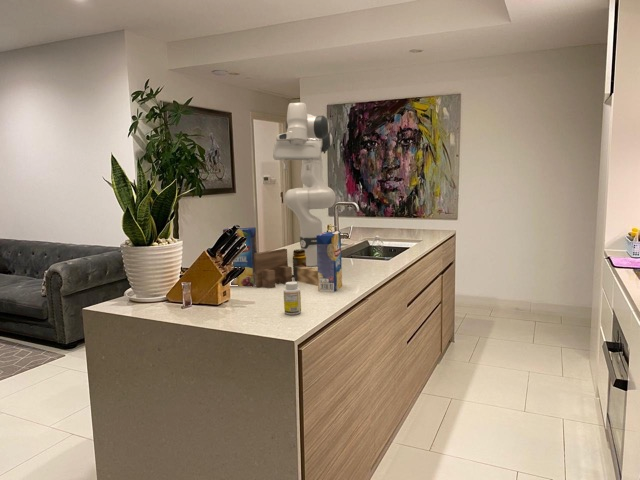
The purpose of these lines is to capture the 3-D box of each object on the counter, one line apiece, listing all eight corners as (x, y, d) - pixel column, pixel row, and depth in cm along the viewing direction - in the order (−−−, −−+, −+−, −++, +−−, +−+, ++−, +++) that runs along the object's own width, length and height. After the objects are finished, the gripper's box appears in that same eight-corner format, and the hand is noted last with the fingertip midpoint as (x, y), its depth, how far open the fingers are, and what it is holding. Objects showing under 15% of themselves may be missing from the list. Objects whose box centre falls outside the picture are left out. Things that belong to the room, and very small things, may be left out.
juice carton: (258, 282, 212) (255, 227, 209) (253, 286, 205) (250, 229, 201) (232, 282, 214) (228, 227, 211) (226, 286, 207) (222, 229, 203)
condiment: (310, 276, 222) (309, 250, 220) (294, 279, 217) (293, 252, 215) (302, 274, 228) (301, 248, 226) (286, 276, 223) (284, 250, 222)
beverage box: (342, 285, 201) (340, 232, 198) (335, 291, 191) (333, 235, 188) (326, 284, 203) (324, 232, 200) (318, 291, 193) (316, 235, 190)
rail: (327, 284, 204) (326, 269, 204) (320, 286, 202) (319, 271, 201) (301, 279, 216) (301, 265, 215) (294, 280, 213) (293, 266, 213)
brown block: (295, 282, 210) (294, 250, 208) (265, 289, 199) (264, 255, 197) (285, 280, 215) (284, 248, 213) (255, 286, 204) (253, 253, 202)
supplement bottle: (292, 309, 167) (291, 280, 166) (304, 312, 164) (303, 282, 162) (280, 313, 163) (279, 283, 162) (293, 316, 160) (291, 285, 158)
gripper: (321, 141, 212) (321, 172, 210) (273, 140, 211) (273, 172, 209) (321, 135, 206) (322, 167, 204) (272, 135, 205) (272, 167, 203)
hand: (297, 169), depth 206 cm, fingers open, 8 cm apart
